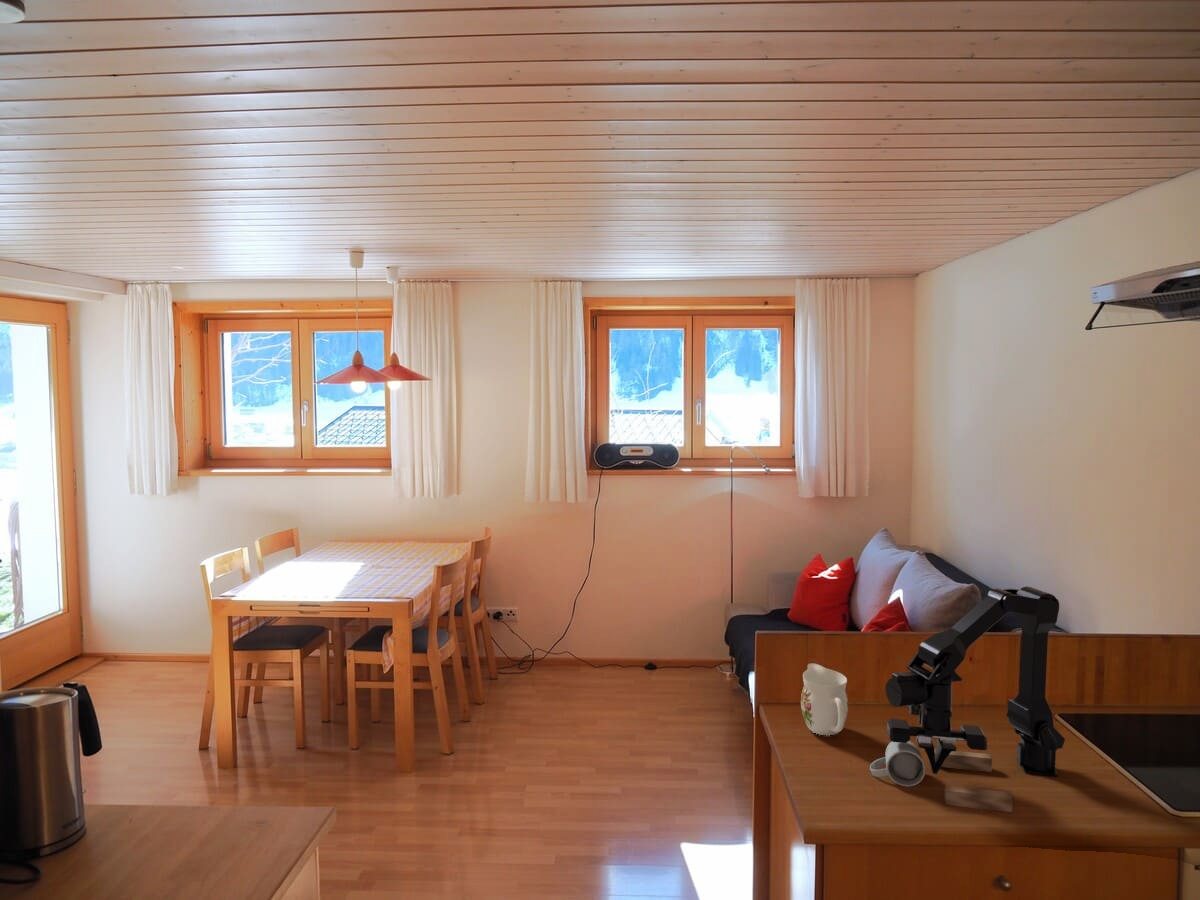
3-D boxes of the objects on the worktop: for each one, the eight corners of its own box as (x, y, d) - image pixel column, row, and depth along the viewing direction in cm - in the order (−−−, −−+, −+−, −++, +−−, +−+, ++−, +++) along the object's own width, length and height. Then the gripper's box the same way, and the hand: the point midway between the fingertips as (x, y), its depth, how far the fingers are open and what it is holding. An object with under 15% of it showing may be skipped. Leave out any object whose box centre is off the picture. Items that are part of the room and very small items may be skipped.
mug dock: (989, 767, 169) (989, 754, 169) (1012, 812, 152) (1012, 797, 152) (930, 761, 172) (930, 748, 172) (946, 804, 155) (946, 790, 154)
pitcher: (819, 751, 177) (820, 693, 176) (789, 717, 195) (790, 664, 194) (864, 747, 179) (865, 690, 178) (831, 714, 197) (832, 661, 195)
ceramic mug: (919, 769, 169) (919, 735, 168) (925, 789, 161) (925, 753, 160) (868, 765, 171) (868, 731, 171) (871, 783, 163) (871, 748, 163)
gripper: (976, 690, 168) (973, 759, 169) (884, 683, 172) (883, 750, 173) (988, 711, 157) (986, 785, 158) (891, 703, 161) (889, 775, 163)
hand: (934, 772), depth 163 cm, fingers closed
